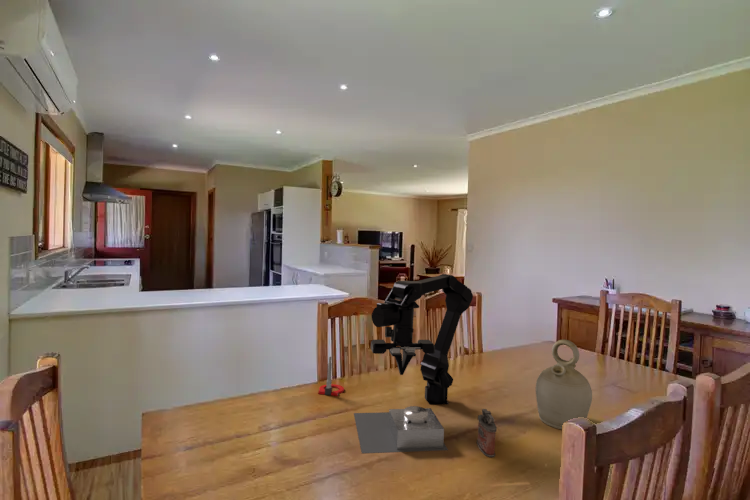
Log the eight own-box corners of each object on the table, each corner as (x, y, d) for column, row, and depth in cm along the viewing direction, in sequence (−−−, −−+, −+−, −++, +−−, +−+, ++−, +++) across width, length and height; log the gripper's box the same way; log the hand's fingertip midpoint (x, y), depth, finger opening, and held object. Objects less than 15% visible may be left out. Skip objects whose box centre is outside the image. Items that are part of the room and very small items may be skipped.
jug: (566, 438, 112) (572, 349, 111) (522, 415, 126) (527, 335, 125) (601, 428, 119) (607, 344, 118) (556, 407, 133) (561, 331, 132)
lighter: (474, 442, 108) (476, 405, 108) (486, 442, 108) (488, 405, 108) (484, 459, 100) (486, 419, 100) (498, 458, 100) (500, 419, 100)
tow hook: (323, 386, 144) (315, 395, 135) (325, 349, 144) (317, 356, 135) (346, 388, 142) (340, 398, 133) (348, 351, 142) (342, 358, 133)
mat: (425, 412, 125) (425, 411, 125) (448, 451, 103) (448, 450, 103) (353, 414, 122) (353, 413, 121) (361, 454, 100) (361, 453, 100)
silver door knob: (423, 428, 112) (424, 405, 112) (429, 440, 106) (430, 416, 106) (400, 429, 111) (401, 406, 111) (405, 441, 105) (406, 417, 105)
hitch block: (430, 425, 116) (430, 408, 115) (443, 448, 104) (444, 428, 103) (388, 426, 114) (389, 409, 114) (396, 449, 102) (397, 430, 102)
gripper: (426, 317, 132) (424, 365, 132) (369, 317, 129) (367, 365, 130) (436, 326, 120) (434, 377, 121) (374, 325, 118) (372, 378, 119)
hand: (401, 374), depth 123 cm, fingers closed
